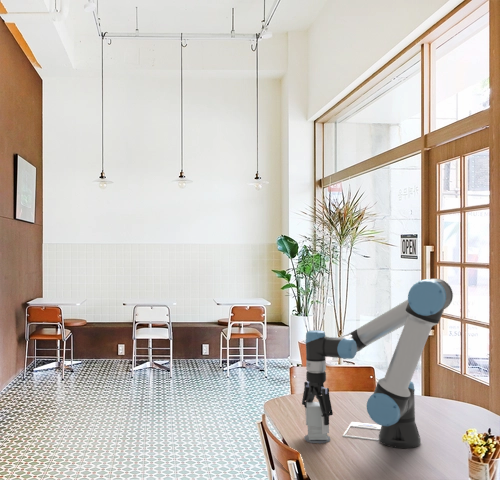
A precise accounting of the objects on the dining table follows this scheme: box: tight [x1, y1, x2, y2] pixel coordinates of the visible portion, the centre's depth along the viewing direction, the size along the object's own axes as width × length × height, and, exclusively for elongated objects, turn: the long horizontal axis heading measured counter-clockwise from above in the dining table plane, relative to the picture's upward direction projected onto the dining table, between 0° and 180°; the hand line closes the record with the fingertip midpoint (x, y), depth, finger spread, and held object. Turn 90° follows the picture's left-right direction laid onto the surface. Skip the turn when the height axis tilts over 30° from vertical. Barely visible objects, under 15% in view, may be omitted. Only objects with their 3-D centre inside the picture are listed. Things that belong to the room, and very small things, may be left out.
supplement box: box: [307, 401, 328, 440], centre depth 197 cm, size 7×7×13 cm
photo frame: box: [342, 421, 381, 442], centre depth 204 cm, size 15×1×18 cm
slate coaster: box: [303, 434, 331, 445], centre depth 196 cm, size 10×10×1 cm
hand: (317, 428), depth 196 cm, fingers open, 11 cm apart
